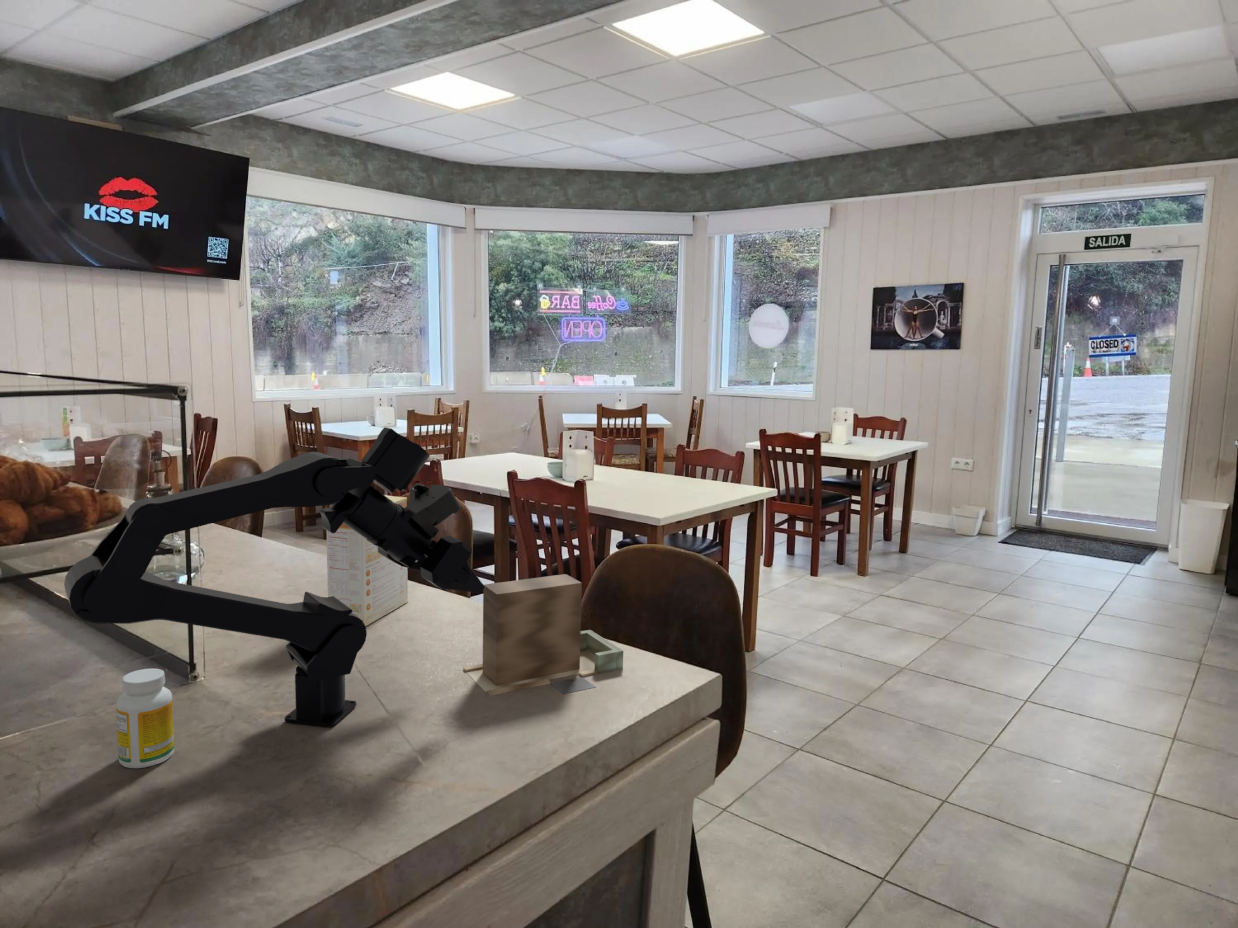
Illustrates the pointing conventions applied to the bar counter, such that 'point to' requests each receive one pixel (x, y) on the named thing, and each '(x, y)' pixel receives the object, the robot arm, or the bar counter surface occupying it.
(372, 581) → the coffeecake box
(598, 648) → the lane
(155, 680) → the supplement bottle
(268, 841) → the bar counter surface
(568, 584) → the walnut block
